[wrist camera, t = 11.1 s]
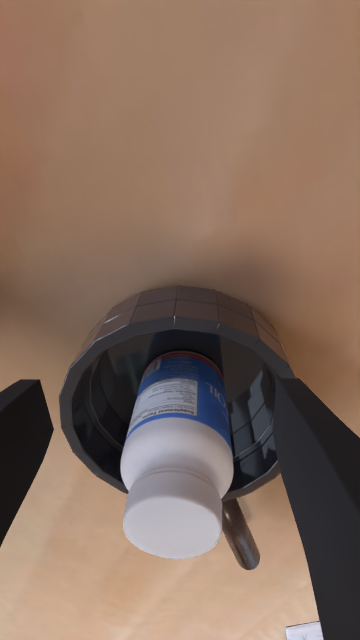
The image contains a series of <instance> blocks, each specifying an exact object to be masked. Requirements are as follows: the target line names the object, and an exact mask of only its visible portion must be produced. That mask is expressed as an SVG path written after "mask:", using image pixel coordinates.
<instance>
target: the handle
mask: <svg viewBox="0 0 360 640" xmlns="http://www.w3.org/2000/svg"><path fill="white" fill-rule="evenodd" d="M222 531H223V533H224V535H225V537H226V539H227V541H228V543H229V545H230V547H231V549H232V551H233V553H234V555H235V557H236V559H237V561H238V563H239V565H240V566H241V567H242V568H244V569H246V570H253V569H255V568H256V567H257V566H258V564H259V561H260V554H259V550H258V548H257V546H256V543H255V541H254V539H253V536H252V534H251V532H250V529H249V527H248V525H247V522H246V520H245V518H244V515H243V513H242V511H241V508H240V506H239V504H238V501H237V499H236V498H234V499H231V500H228V501H225V502H222Z"/></svg>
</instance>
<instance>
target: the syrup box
mask: <svg viewBox="0 0 360 640" xmlns="http://www.w3.org/2000/svg"><path fill="white" fill-rule="evenodd" d="M286 635H287V640H323V635H322V630H321V625H320V622H314V623H308V624H302V625H297V626H292V627H287V628H286Z"/></svg>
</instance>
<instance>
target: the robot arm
mask: <svg viewBox="0 0 360 640" xmlns="http://www.w3.org/2000/svg"><path fill="white" fill-rule="evenodd" d="M53 430H54V428H53V425H52V421H51V418H50V414H49V411H48V407H47V404H46V400H45V397H44V393H43V390H42V386H41V383H40V380H19V381H17V382H16V383H14V384H12V385H11V386H9V387H8V388H6V389H5V390H3V391H2V392H0V547H1V544H2V542H3V540H4V538H5V536H6V534H7V532H8V530H9V528H10V526H11V524H12V522H13V520H14V518H15V516H16V514H17V512H18V510H19V508H20V506H21V504H22V502H23V500H24V498H25V496H26V494H27V492H28V490H29V488H30V486H31V484H32V482H33V480H34V478H35V476H36V474H37V472H38V470H39V468H40V466H41V464H42V462H43V459H44V457H45V454H46V451H47V448H48V446H49V443H50V440H51V436H52V433H53ZM272 432H273V438H274V443H275V449H276V455H277V460H278V465H279V468H280V471H281V475H282V478H283V481H284V485H285V488H286V491H287V495H288V498H289V501H290V504H291V508H292V511H293V514H294V517H295V521H296V524H297V527H298V531H299V534H300V537H301V540H302V544H303V547H304V551H305V555H306V559H307V563H308V567H309V572H310V577H311V581H312V586H313V591H314V595H315V600H316V605H317V610H318V615H319V620H320V625H321V630H322V635H323V640H360V438H359V437H358V436H357V435H356V434H355V433H354V432H352V431H351V430H350V429H349V428H348V427H347V426H346V425H345V424H344V423H343V422H342V421H341V420H340V419H339V418H338V417H337V416H336V415H335V414H334V413H333V412H332V411H331V410H330V409H329V408H328V407H327V406H326V405H325V404H324V403H323V402H322V401H321V400H320V399H319V398H318V397H317V396H316V395H315V394H314V393H313V392H312V391H311V390H310V389H309V388H308V387H307V386H306V385H305V384H304V383H303V382H302V381H301V380H300V379H299V378H278V381H277V391H276V400H275V410H274V419H273V429H272Z"/></svg>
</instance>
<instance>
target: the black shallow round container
mask: <svg viewBox="0 0 360 640" xmlns="http://www.w3.org/2000/svg"><path fill="white" fill-rule="evenodd" d="M173 351H190V352H195V353H198V354H200V355H203V356H205V357H206V358H208V359H210V360H211V361H212V362H213V363H214V364H215V365H216V366H217V367H218V368H219V370H220V372H221V374H222V376H223V379H224V384H225V392H226V401H227V411H228V419H229V428H230V437H231V446H232V454H233V479H232V483H231V485H230V487H229V489H228V491H227V492H226V494H225V495H224V496H223V497H222V499H221V501H222V502H225V501H228V500H231V499H234V498H237V497H241V496H244V495H247V494H249V493H252V492H253V491H255V490H256V489H258V488H260V487H261V486H263V485H265V484H266V483H268V482H269V481H271V480H273V479H274V478H276V477H277V476H278V475H279V474H280V473H281V471H280V468H279V465H278V460H277V455H276V449H275V443H274V438H273V432H272V429H273V419H274V410H275V400H276V391H277V381H278V378H297V376H296V373H295V371H294V369H293V366H292V364H291V362H290V359H289V357H288V355H287V352H286V350H285V349H284V347H283V345H282V343H281V341H280V339H279V337H278V335H277V333H276V331H275V329H274V328H273V326H272V325H270V324H269V323H268V322H267V321H266V320H265V319H264V318H263V317H262V316H261V315H260V314H258V313H257V312H256V311H255V310H254V309H253V308H252V307H251V306H249V305H248V304H246V303H244V302H241V301H239V300H237V299H235V298H232V297H230V296H228V295H226V294H223V293H221V292H219V291H215V290H212V289H204V288H195V287H187V286H173V287H167V288H162V289H156V290H150V291H145V292H141V293H139V294H137V295H135V296H133V297H131V298H130V299H128V300H126V301H124V302H122V303H120V304H118V305H116V306H115V307H113V308H112V309H111V310H110V311H109V312H108V313H107V314H106V315H105V316H104V317H103V318H102V319H101V321H100V322H99V323H98V324H97V325H96V326H95V327H94V328H93V329H92V331H91V332H90V334H89V336H88V337H87V339H86V341H85V342H84V344H83V346H82V347H81V349H80V351H79V352H78V354H77V356H76V357H75V359H74V361H73V363H72V364H71V366H70V368H69V370H68V373H67V375H66V378H65V381H64V384H63V387H62V389H61V392H60V395H59V403H60V418H61V428H62V430H63V432H64V434H65V436H66V438H67V441H68V443H69V445H70V447H71V449H72V451H73V453H75V455H76V456H77V457H78V458H79V459H80V460H81V461H82V462H83V463H84V464H85V465H86V466H87V467H88V469H89V470H90V471H91V472H92V473H93V474H94V475H96V476H97V477H99V478H100V479H102V480H103V481H105V482H107V483H108V484H110V485H112V486H113V487H115V488H117V489H118V490H120V491H122V492H123V493H126V494H128V492H129V491H128V489H127V488H126V486H125V484H124V482H123V479H122V476H121V468H120V465H121V457H122V452H123V449H124V445H125V441H126V437H127V433H128V430H129V426H130V422H131V418H132V414H133V410H134V406H135V403H136V399H137V395H138V391H139V387H140V383H141V380H142V377H143V374H144V372H145V370H146V368H147V367H148V366H149V364H150V363H151V362H152V361H154V360H155V359H156V358H157V357H159V356H161V355H163V354H165V353H168V352H173Z"/></svg>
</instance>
